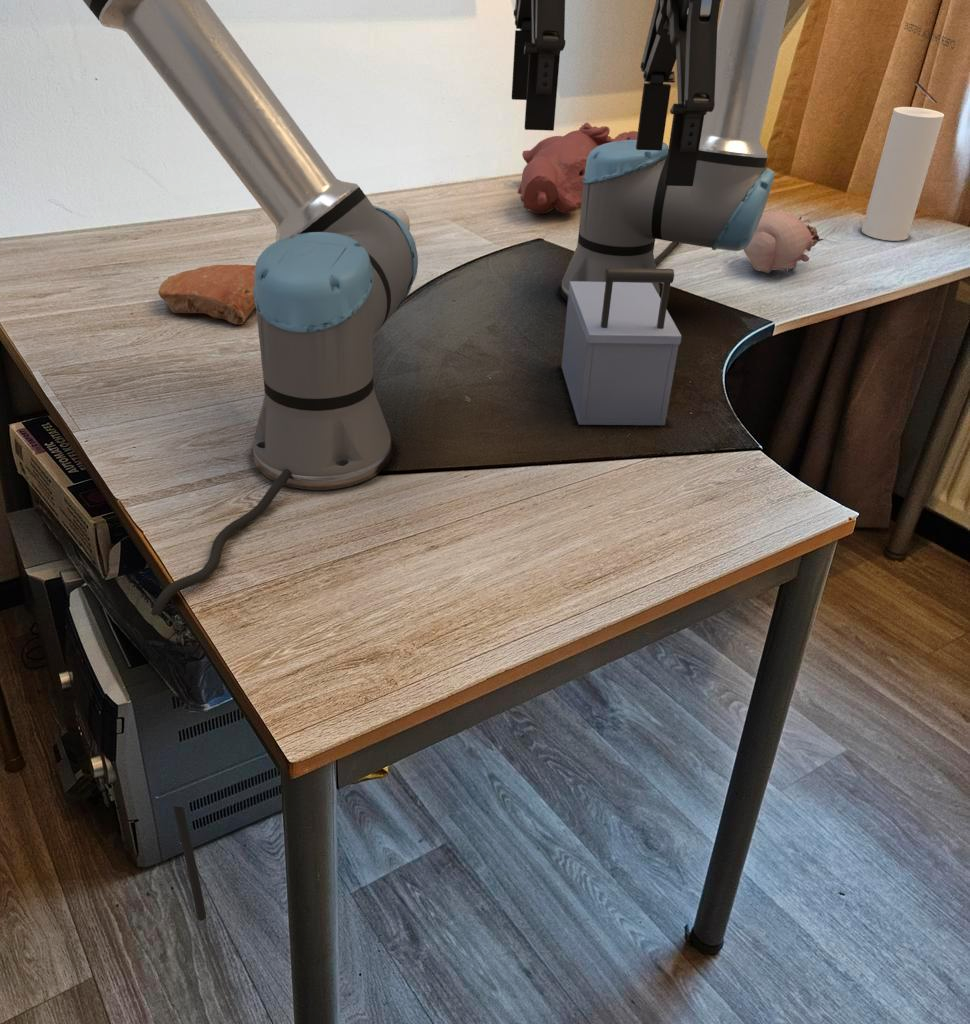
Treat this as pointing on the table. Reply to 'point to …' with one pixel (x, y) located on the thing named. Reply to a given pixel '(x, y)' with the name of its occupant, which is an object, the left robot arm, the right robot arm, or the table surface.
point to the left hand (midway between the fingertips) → (531, 113)
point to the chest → (616, 377)
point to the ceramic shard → (212, 291)
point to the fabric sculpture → (561, 168)
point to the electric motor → (402, 216)
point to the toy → (781, 241)
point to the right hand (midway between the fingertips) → (662, 166)
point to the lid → (626, 307)
